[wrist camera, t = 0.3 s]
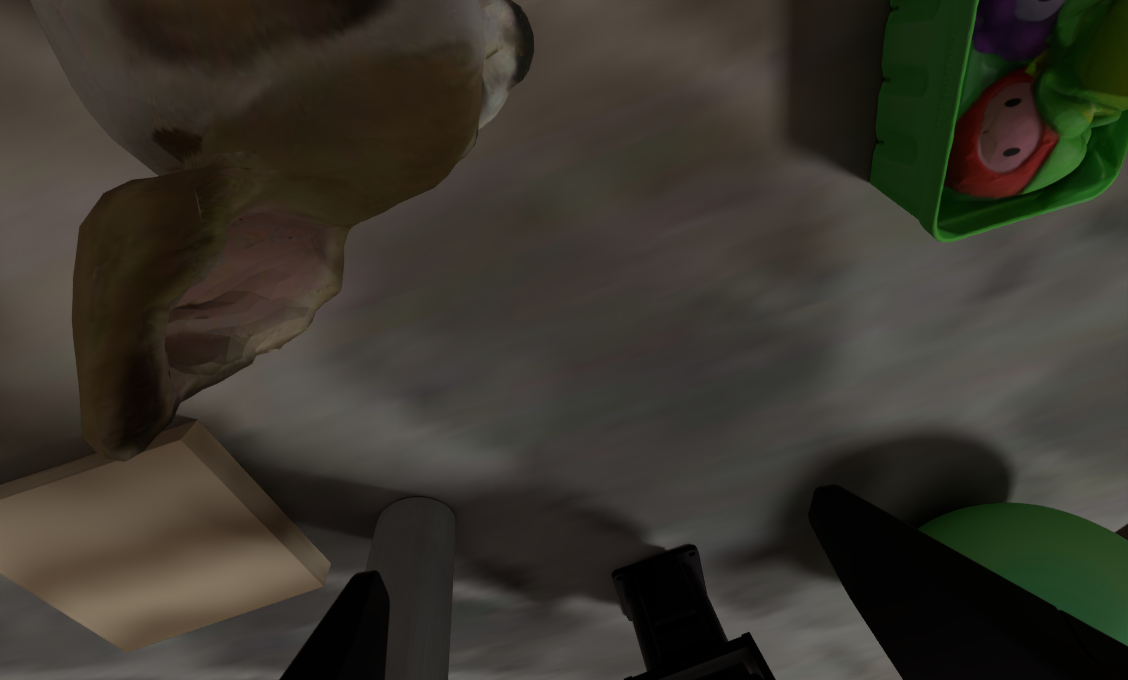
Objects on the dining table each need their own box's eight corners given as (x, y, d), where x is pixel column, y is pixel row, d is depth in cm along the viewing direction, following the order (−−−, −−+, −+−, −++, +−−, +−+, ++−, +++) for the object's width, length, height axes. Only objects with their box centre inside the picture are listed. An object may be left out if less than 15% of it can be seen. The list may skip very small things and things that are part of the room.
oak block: (333, 555, 28) (323, 586, 26) (148, 617, 28) (126, 652, 26) (203, 412, 22) (180, 439, 20) (-33, 490, 22) (-77, 524, 20)
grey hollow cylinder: (370, 544, 27) (318, 763, 18) (385, 490, 25) (335, 704, 17) (445, 551, 29) (430, 758, 20) (464, 501, 27) (458, 704, 18)
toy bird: (1078, 475, 37) (1395, 677, 24) (944, 603, 44) (1134, 812, 31) (919, 448, 32) (1216, 687, 19) (796, 598, 39) (952, 845, 26)
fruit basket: (861, -88, 16) (1432, -354, 7) (1089, -152, 17) (1971, -501, 7) (839, 217, 22) (1127, 317, 12) (1008, 167, 22) (1423, 226, 12)
